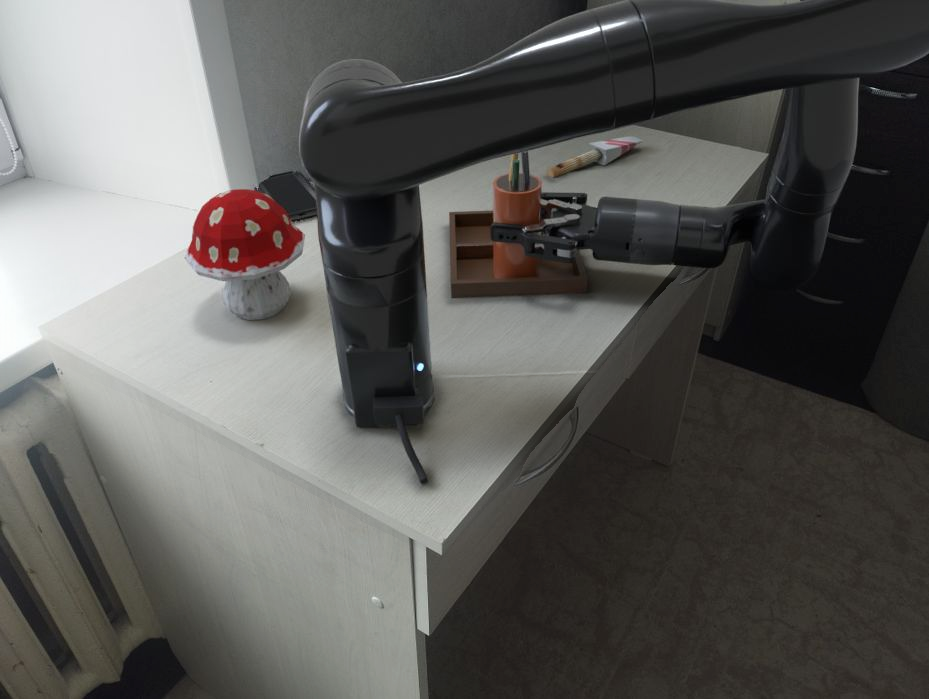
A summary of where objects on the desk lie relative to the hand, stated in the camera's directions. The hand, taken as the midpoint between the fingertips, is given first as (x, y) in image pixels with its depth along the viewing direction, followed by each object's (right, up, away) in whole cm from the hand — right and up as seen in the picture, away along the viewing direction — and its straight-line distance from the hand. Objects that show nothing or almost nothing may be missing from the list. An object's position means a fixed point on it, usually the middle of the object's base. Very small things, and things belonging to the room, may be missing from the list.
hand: (496, 219), depth 92 cm
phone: (-31, +7, +24) cm, 40 cm away
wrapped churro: (+18, +15, +33) cm, 40 cm away
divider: (+2, -4, +8) cm, 9 cm away
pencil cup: (+3, -6, +4) cm, 8 cm away
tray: (+2, -4, +8) cm, 9 cm away
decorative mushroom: (-29, -11, +1) cm, 31 cm away
